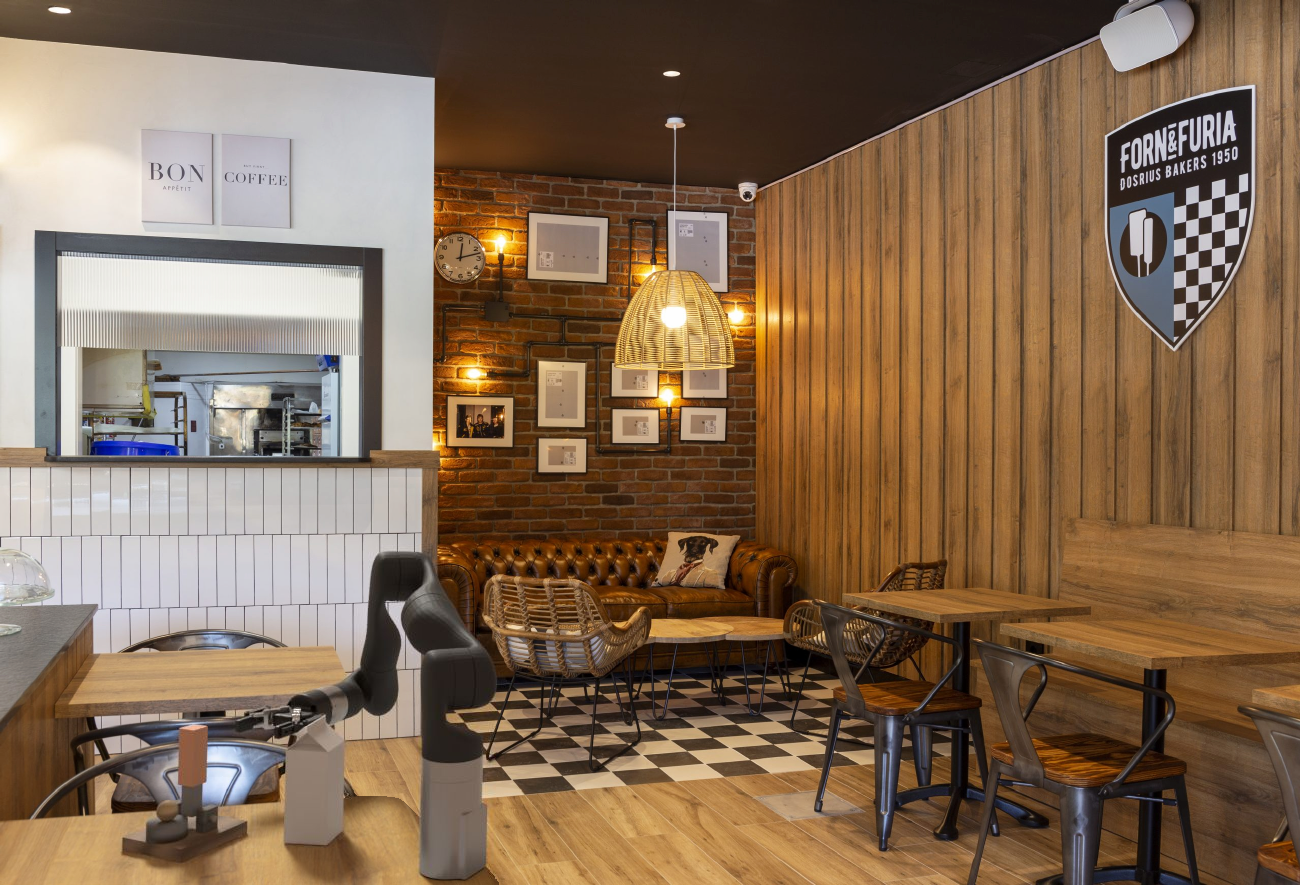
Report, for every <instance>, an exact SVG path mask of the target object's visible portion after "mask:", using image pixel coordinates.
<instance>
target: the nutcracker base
mask: <svg viewBox="0 0 1300 885" xmlns="http://www.w3.org/2000/svg"><path fill="white" fill-rule="evenodd" d="M155 812H156V813H155V814H156V816H155V817H152V818H150V819H148V820H147V821H145V822H146V823H145V828H143V829H140V830H137V831H135V832H132V833H130V834H128V835H125V836H122V840H121V841H122V843H121V851H123V852H124V851H125V852H128V853H129V852H130V853H133V854H138V855H143V856H148V857H153V858H157V859H162V860H167V861H170V862H171V861H172V862H177V863H183V862H185V861H189V860H190V859H193V858H194V857H197V856H199V855H202V854H204V853H206V852H208V851H210V850H212V849H215V848H217V847H219V846H221V844H222V845H223V843H224V844H226V843H228V842H231V841H233V840H235V839H237V838H240V837H241V835H242V836H244V835H246V834H248V820H245V819H244V820H243V819H239V818H238V819H237V818H233V817H229V816H228V817H227V816H222V815H219V806H218V805H215V804H208V805H206V806H202V808H200V809H198V810H196V816H195V817H187V816H183V815H181V798H179V799H175V800H172V799H166V800H164V801H162V802H160V803H159V804H158V805H157V807H156V810H155ZM239 836H240V837H239ZM230 840H231V841H230ZM225 842H226V843H225ZM218 845H219V846H218Z"/></svg>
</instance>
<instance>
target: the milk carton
mask: <svg viewBox="0 0 1300 885" xmlns="http://www.w3.org/2000/svg"><path fill="white" fill-rule="evenodd" d="M295 736H296V737H297V740H296V741H295V742H294V743H292V745H290V746H289V747H288V748H286V750H285V770H284V771H285V775H284V776H285V777H284V778H285V779H284V781H285V782H284V814H283V815H284V816H283V817H284V818H283V819H284V820H283V822H284V823H283V824H284V825H283V844H297V845H310V846H311V845H313V846H314V845H315V846H327V845H329V844H330V843H331V842H332V841H333V840H334V839H335V838H337V837H338V836H339V835H340V834H341V833H342V832H343V831H344V796H345V795H344V793H345V788H344V787H345V757H346V756H345V752H346V751H345V749H346V740H345V738H343V737H342V736H341V735H340V734H339V733H338V732H336V730H335V729H333V727H332V726H329V725H328V724H327V723H326V715H324V716H323V717H321V718H319V719H318V720H316V721H314V722H313V723H311V724H309V725H308V726H306V727H304V728H303V729H301V730H300V731H299V732H297V733H296V735H295Z"/></svg>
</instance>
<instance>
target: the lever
mask: <svg viewBox="0 0 1300 885" xmlns="http://www.w3.org/2000/svg"><path fill="white" fill-rule="evenodd" d="M208 730H209V728H208V726H207V725H203V724H196V723H192V724H189V725H186V726H182V727H179V728H178V760H177V761H178V765H177V766H178V769H177V785H178V786H181V794H180V795H181V796H180V799H181V815H183V816H187V817H195V816H196V810H198V809H200V808H203V791H204V790H203V788H204V786H203V784H204V783H207V778H208V777H207V775H208V774H207V773H208V772H207V771H208V769H207V768H208V739H209V738H208V737H209V736H208V733H209V731H208Z"/></svg>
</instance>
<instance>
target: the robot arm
mask: <svg viewBox="0 0 1300 885" xmlns="http://www.w3.org/2000/svg"><path fill="white" fill-rule="evenodd" d="M368 588H369V590H368V599H367V600H368V601H367V603H368V604H367V616H366V618H367V620H366V632H365V633H366V634H365V639H364V640H365V641H364V644H363V648H362V652H361V656H360V664H359V666H360V667H357V668H355V670H354V671H353V672H351V674H349V675H348V676H347V677H346V678H344V679H343V680H341V681H340V682H338V683H334V684H331V685H325V686H321V687H317V688H314V689H311V690H306V691H304V692H301V693H297V694H294V696H292V697H291V698H290V699H289V700H288V702H287V703H286V705H280V706H279V707H272V706H271V705H269V704H267V705H264V706H260V707H256V708H252V709H250V710H246V711H245V710H244V712H243V717H242V718H239V719H236V720H235V723H234V724H235V726H234V727H235V729H234V730H235V733H239V734H240V733H243V732H246V731H250V730H253V729H254V730H255V729H258V728H263V729H264V730H274V731H273V737H274V740H275V739H276V740H280V739H284V738H286V737H290V736H296V733H297V732H299V731H300V730H301V729H303V728H304V727H306V726H308V725H309V724H311V723H313V722H314V721H316V720H318V719H319V718H321V717H323V716H324V715H326V723H327V724H328V725H329V726H330V727H332V726H334V725H336V724H337V723H340V722H342V721H344V720H347V719H351V718H352V717H355V716H357V715H358V714H359V713H360V712H361V711H362V709H364V710H365V711H366V712H368V713H369V714H370V715H372V716H375V717H376V716H377V717H380V716H381V717H382V716H384V715H386V714H388V713H389V712H390V711H391V710H392V709H393V707H395V705H396V703H397V699H398V696H399V686H400V685H399V676H398V670H397V669H398V668H397V665H398V660H399V657H400V652H401V649H402V637H401V633H400V630H399V628H398V626H397V624H396V623H395V621H394V620H393V618H392V617H391V615H390V613H389V612H388V609H387V606H386V605H387V604H386V602H404V604H403V607H402V608H401V612H400V622H401V623H400V624H401V626H402V629H403V632H404V633H405V635H406V638H407V639H408V642H409V644H410V645H411V646H412V648H414V650H416V651H417V652H418V653H420V654H421V655H422V656H423V658H422V661H421V666H420V675H419V676H420V704H421V709H420V710H421V711H420V712H421V730H420V731H421V756H420V757H421V759H420V760H421V761H420V763H421V765H420V797H419V798H420V803H419V804H420V806H419V843H418V844H419V847H418V848H419V850H418V851H419V853H418V871H419V873H420V874H421V875H422V876H425V877H428V878H430V879H436V880H459V879H460V880H467V879H469V878H470V877H472V876H473V875H475V874H476V873H477V872H479V871H481V870H482V869H484V868H485V867H486V866H487V847H488V846H487V844H488V843H487V842H488V841H487V840H488V833H487V832H488V804H487V803H485V802H483V776H484V775H483V772H484V769H483V768H484V766H483V765H484V740H483V739H484V738H483V736H482V735H481V734H480V733H479V732H478V731H475V730H473V729H470V728H466V727H463V726H459V725H455V724H454V723H451V722H450V721H448V719H447V712H449V711H450V712H452V711H464V710H474V709H479V708H482V707H485V706H487V705H488V704H490V703H491V702H492V700H493V699H494V697H495V695H496V692H497V687H498V686H497V685H498V679H497V678H498V677H497V671H496V667H495V665H494V662H493V660H492V658H491V656H490V654H489V652H488V651H487V650H486V648H485V647H484V646H483V645H482V643H480V641H478V639H477V638H476V637H475V636H474V635H473V634H472V633H471V632H470V631H469V629H468V628H467V626H466V625H465V623H464V621H463V620H462V618H461V616H460V614H459V611H458V610H457V609H456V607H455V605H454V604H453V603H452V601H451V600H450V598H449V596H448V595H447V593H446V592H445V589H444V588H443V586H442V584H441V582H440V579H439V576H438V574H437V571H436V567H435V566H434V563H433V562H432V559H431V558H430V556H428V554H426V553H424V552H420V551H409V550H408V551H407V550H406V551H401V550H397V551H395V550H388V551H380V552H379V553H377V555H376V556H375V557H374V560H373V561H372V565H371V570H370V578H369V586H368ZM270 720H271V723H272V724H269V721H270Z"/></svg>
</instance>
